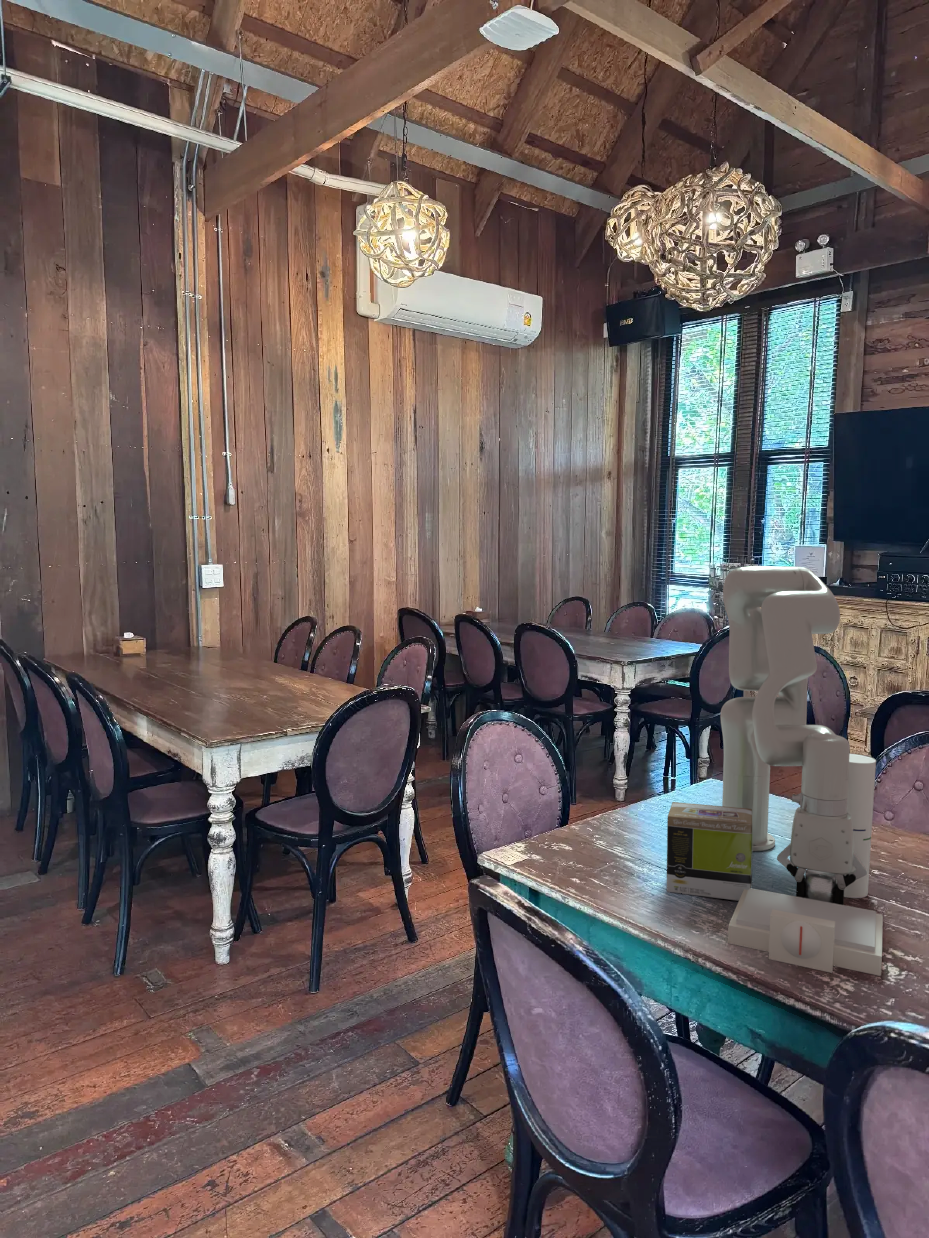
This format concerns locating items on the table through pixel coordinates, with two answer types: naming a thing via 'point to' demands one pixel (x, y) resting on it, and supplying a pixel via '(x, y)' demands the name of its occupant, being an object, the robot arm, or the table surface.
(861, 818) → the cylindrical container
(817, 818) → the robot arm
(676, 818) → the tea box
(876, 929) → the scale
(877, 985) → the table surface
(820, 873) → the shiny metallic cylinder
